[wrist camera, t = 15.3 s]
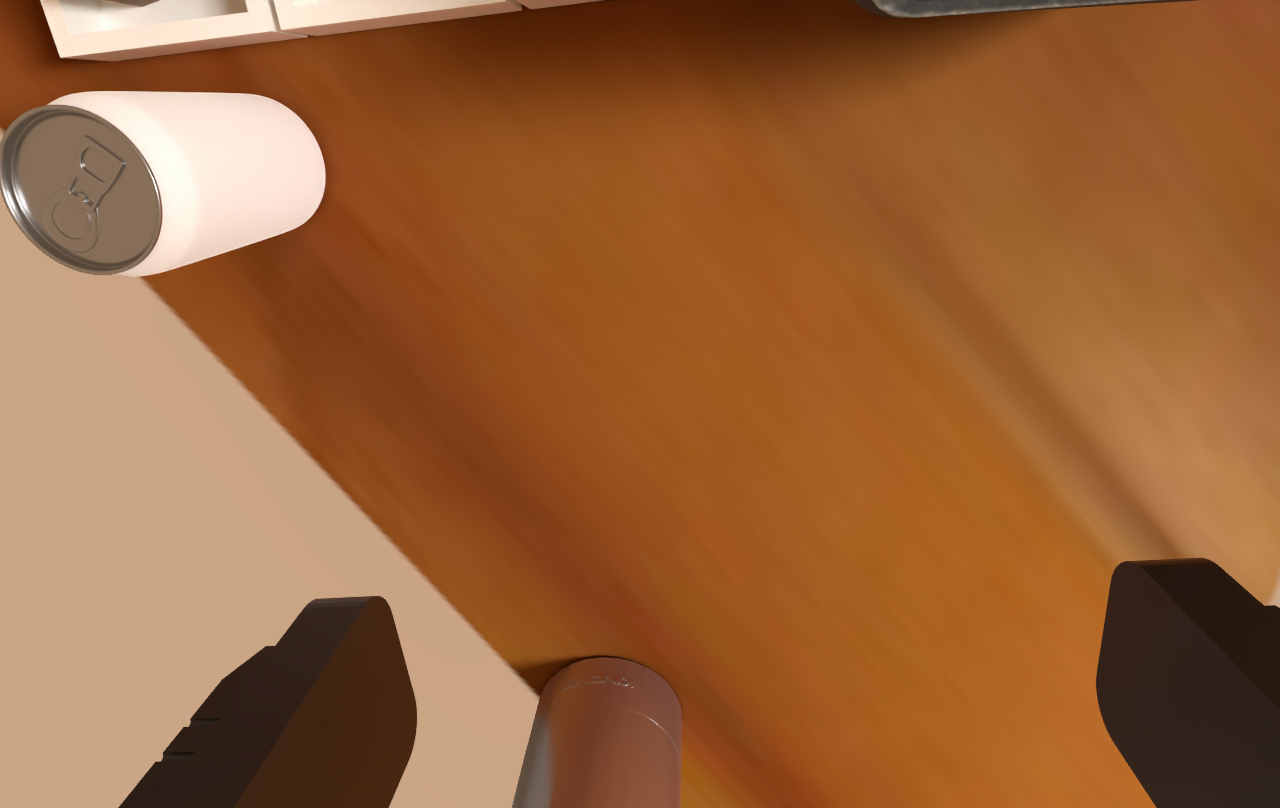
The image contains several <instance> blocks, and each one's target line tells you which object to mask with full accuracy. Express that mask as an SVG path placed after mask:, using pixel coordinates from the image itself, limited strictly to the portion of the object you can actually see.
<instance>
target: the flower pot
mask: <svg viewBox="0 0 1280 808" xmlns="http://www.w3.org/2000/svg"><path fill="white" fill-rule="evenodd" d="M853 1H854V2H855V3H856V4H858V5H859V6H860V7H862V8H864V9H865V10H867V11H869V12H871V13H874V14H877V15H879V16H885V17H890V18H917V17H933V16H949V15H965V14H980V13H997V12H1013V11H1029V10H1045V9H1061V8H1077V7H1094V6H1111V5H1128V4H1144V3H1161V2H1178V1H1194V0H853Z"/></svg>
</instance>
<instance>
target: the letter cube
mask: <svg viewBox="0 0 1280 808" xmlns="http://www.w3.org/2000/svg"><path fill="white" fill-rule="evenodd" d="M106 1H112V2H118V3H124V4H130V5H135V6H141V7H144V6H146V5H149V4H152V3H154V2H157V1H160V0H106Z"/></svg>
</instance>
